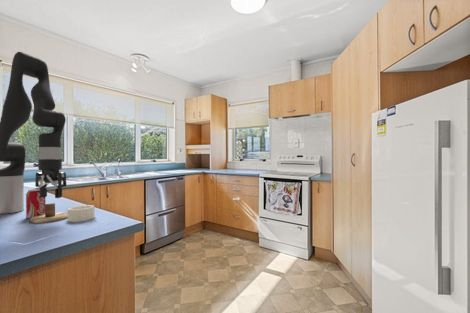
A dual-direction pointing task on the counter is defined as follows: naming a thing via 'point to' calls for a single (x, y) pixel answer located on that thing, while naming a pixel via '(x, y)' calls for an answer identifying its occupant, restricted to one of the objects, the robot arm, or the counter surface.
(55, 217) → the lid
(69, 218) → the bowl
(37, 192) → the beverage can
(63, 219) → the mat
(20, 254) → the counter surface
